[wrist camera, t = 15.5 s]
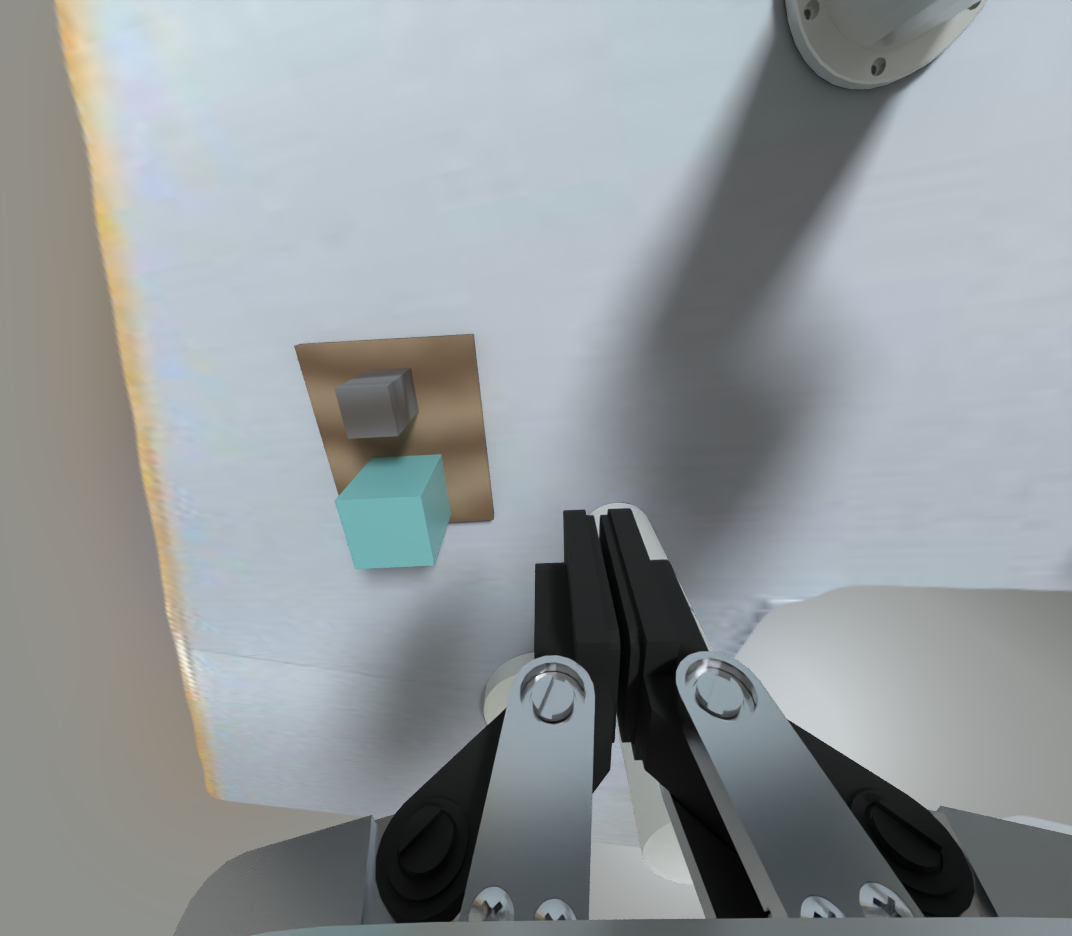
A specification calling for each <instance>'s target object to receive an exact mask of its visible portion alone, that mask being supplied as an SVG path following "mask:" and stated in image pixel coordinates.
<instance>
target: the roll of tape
mask: <svg viewBox="0 0 1072 936" xmlns="http://www.w3.org/2000/svg"><path fill="white" fill-rule="evenodd" d="M533 659H534V652H531V653H527V654H523V655H520V656H517V657H515V658H512V659H510V660H508V661H507V662H505V663H503V664H502V665H501V666H499V667H498V668H497V669H496V670H495V671H494V672H493V673H492V675H491V676H490V678H489V680H488V682H487V685H486V690H485V699H484V707H483V712H484V717H485V721H486V723H487V725H488V724H489V723H490V722H491V721H493V720H494V719H495V718H496V717H497V716H498V715H499V714H500V713H501V712H502V711H503V710H504V709H505V708H506V707H507V704H508V699H509V695H510V690H511V686H512V684H513V681H514V679H515V676H516V675H517V673H518V672H519V671H520V670H521V669H522V667H523V666H524V665H526V664H527V663H529V662H530V661H532V660H533Z"/></svg>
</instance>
